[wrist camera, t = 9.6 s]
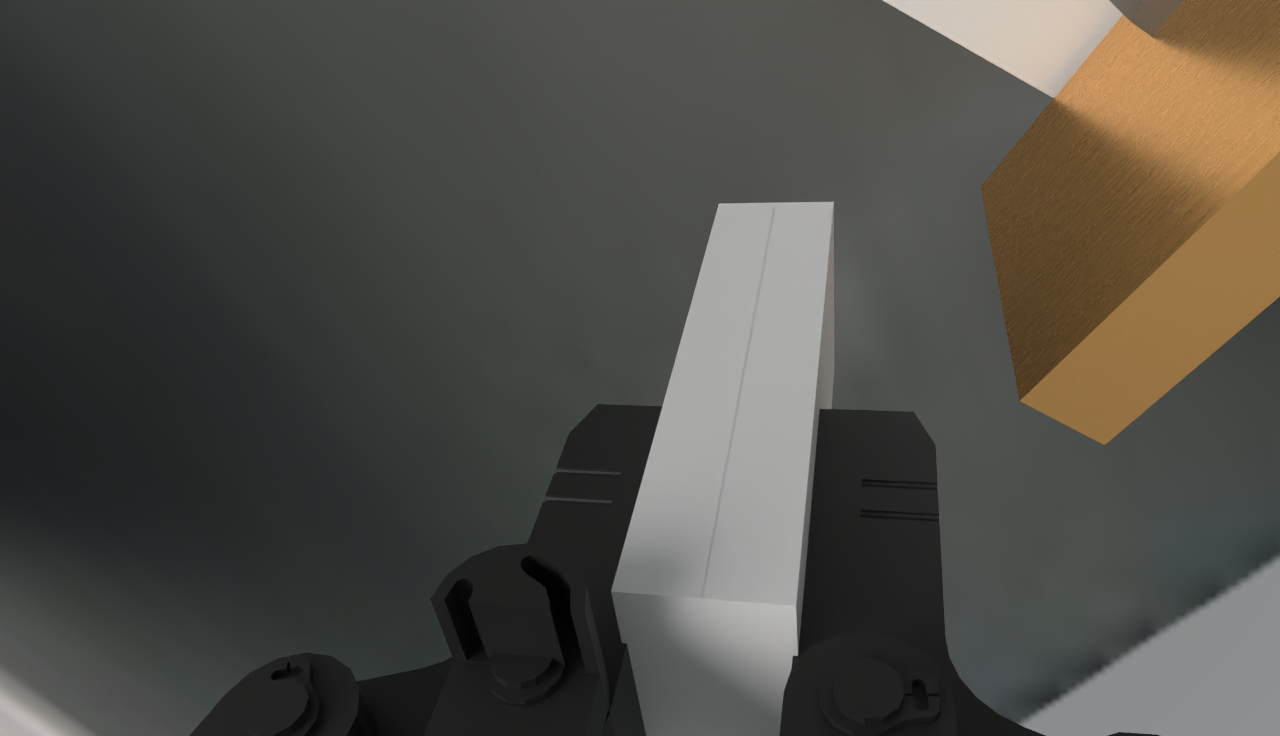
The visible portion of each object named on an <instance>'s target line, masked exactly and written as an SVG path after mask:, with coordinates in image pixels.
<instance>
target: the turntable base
mask: <svg viewBox="0 0 1280 736" xmlns="http://www.w3.org/2000/svg"><path fill="white" fill-rule="evenodd" d="M883 1H885V2H886V3H888V4H890V5H892V6H893V7H895V8H897V9H899V10H900V11H902V12H904V13H906V14H907V15H909V16H911V17H913V18H914V19H916V20H918V21H920V22H921V23H923V24H925V25H927V26H928V27H930V28H932V29H934V30H935V31H937V32H939V33H941V34H942V35H944V36H946V37H948V38H949V39H951V40H953V41H955V42H956V43H958V44H960V45H962V46H963V47H965V48H967V49H969V50H970V51H972V52H974V53H976V54H977V55H979V56H981V57H983V58H984V59H986V60H988V61H990V62H991V63H993V64H995V65H997V66H998V67H1000V68H1002V69H1004V70H1005V71H1007V72H1009V73H1011V74H1012V75H1014V76H1016V77H1018V78H1019V79H1021V80H1023V81H1025V82H1026V83H1028V84H1030V85H1032V86H1033V87H1035V88H1037V89H1039V90H1040V91H1042V92H1044V93H1046V94H1047V95H1049V96H1051V97H1053V98H1055V96H1056V95H1057V94H1058V93H1059V92H1060V90H1061V89H1062V88H1063V87H1064V86H1065V84H1066V83H1067V82H1068V81H1069V79H1070V78H1071V77H1072V76H1073V75H1074V73H1075V72H1076V71H1077V70H1078V69H1079V67H1080V66H1081V65H1082V64H1083V63H1084V61H1085V60H1086V59H1087V58H1088V56H1089V55H1090V54H1091V53H1092V52H1093V50H1094V49H1095V48H1096V47H1097V46H1098V44H1099V43H1100V42H1101V41H1102V40H1103V38H1104V37H1105V36H1106V35H1107V34H1108V32H1109V31H1110V30H1111V29H1112V27H1113V26H1114V25H1115V24H1116V23H1117V21H1118V20H1119V19H1120V18H1121V17H1122V15H1123V14H1122V13H1121V12H1120V11H1119V10H1118V9H1117V8H1116V7H1115V6H1114V5H1113V4H1112V3H1111V2H1110V1H1109V0H883Z"/></svg>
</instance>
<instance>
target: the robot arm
mask: <svg viewBox="0 0 1280 736" xmlns="http://www.w3.org/2000/svg"><path fill="white" fill-rule="evenodd" d="M833 381H834V202H792V203H724V204H719V205H718V209H717V212H716V216H715V219H714V223H713V227H712V230H711V234H710V237H709V241H708V245H707V248H706V252H705V255H704V259H703V263H702V266H701V270H700V273H699V277H698V281H697V284H696V288H695V291H694V295H693V299H692V302H691V306H690V309H689V313H688V317H687V320H686V324H685V327H684V331H683V335H682V338H681V342H680V345H679V349H678V352H677V356H676V360H675V363H674V367H673V370H672V374H671V378H670V381H669V385H668V388H667V392H666V396H665V399H664V403H663V406H632V405H603V404H598V405H597V406H596V407H595V408H594V409H593V410H592V411H591V412H590V413H589V414H588V415H587V416H586V417H585V418H584V419H583V420H582V421H581V422H580V423H579V424H578V425H577V426H576V427H575V428H574V429H573V430H572V431H571V432H570V433H569V435H568V438H567V441H566V443H565V446H564V449H563V451H562V454H561V457H560V459H559V462H558V465H557V472H556V474H554V475H553V478H552V480H551V483H550V486H549V488H548V491H547V494H546V502H543V504H542V507H541V509H540V512H539V515H538V517H537V520H536V523H535V525H534V528H533V530H532V533H531V536H530V538H529V541H528V544H517V545H506V546H498V547H496V548H493V549H491V550H488V551H485V552H483V553H480V554H477V555H475V556H472V557H470V558H469V559H468V560H466V561H465V562H464V563H462V564H461V565H460V566H458V567H457V568H456V569H454V570H453V571H452V572H450V573H449V574H448V575H447V576H446V577H445V578H444V580H443V581H442V583H441V584H440V586H439V587H438V588H437V590H436V591H435V593H434V594H433V596H432V597H431V601H432V604H433V606H434V609H435V612H436V614H437V617H438V619H439V622H440V625H441V627H442V630H443V632H444V635H445V638H446V640H447V643H448V646H449V648H450V651H451V653H452V656H453V657H451V658H449V659H448V660H446V661H444V662H441V663H438V664H435V665H431V666H428V667H425V668H421V669H417V670H412V671H407V672H402V673H397V674H392V675H387V676H382V677H378V678H373V679H368V680H363V681H358V682H356V680H355V678H354V675H353V673H352V671H351V669H350V668H348V667H347V666H345V665H344V664H342V663H341V662H339V661H338V660H336V659H335V658H334V657H332V656H326V655H319V654H312V653H303V654H298V655H293V656H288V657H283V658H278V659H276V660H274V661H272V662H270V663H268V664H266V665H264V666H262V667H260V668H258V669H256V670H255V671H253V672H251V673H249V674H248V675H247V676H246V677H245V678H243V679H242V680H241V681H240V682H239V683H238V684H237V685H236V686H234V687H233V688H232V689H231V690H230V691H229V692H228V693H227V694H225V696H224V697H223V698H222V699H221V700H220V701H219V702H218V704H217V705H216V706H215V707H214V708H213V709H212V711H211V712H210V713H209V714H208V715H207V716H206V717H205V719H204V720H203V721H202V722H201V723H200V724H199V725H198V727H197V728H196V729H195V730H194V731H193V732H192V734H191V735H190V736H1045V735H1042V734H1040V733H1037V732H1035V731H1032V730H1030V729H1027V728H1025V727H1023V726H1021V725H1019V724H1017V723H1015V722H1013V721H1011V720H1009V719H1007V718H1005V717H1003V716H1001V715H999V714H997V713H996V712H995V711H993V710H992V709H991V708H989V707H988V706H987V705H985V704H984V703H983V702H982V701H980V700H979V699H978V698H976V697H975V695H974V694H973V693H972V692H971V691H970V690H969V688H968V687H967V686H966V685H965V684H964V682H963V681H962V680H961V679H960V678H959V676H958V674H957V672H956V670H955V668H954V666H953V664H952V662H951V660H950V658H949V654H948V649H947V644H946V639H945V624H944V605H943V585H942V566H941V546H940V527H939V507H938V490H937V468H936V449H935V444H934V442H933V441H932V439H931V438H930V436H929V435H928V433H927V432H926V430H925V429H924V427H923V426H922V424H921V423H920V421H919V420H918V418H917V417H916V415H915V413H914V412H900V411H870V410H839V409H832V395H833ZM1109 736H1159V735H1151V734H1137V733H1122V732H1119V733H1115V734H1112V735H1109Z"/></svg>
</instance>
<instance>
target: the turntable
mask: <svg viewBox="0 0 1280 736" xmlns="http://www.w3.org/2000/svg"><path fill="white" fill-rule="evenodd" d="M1109 1H1110V2H1111V3H1112V4H1113V5H1114V6H1115V7H1116V8H1117V9H1118V10H1119V11H1120V12H1121V13H1122V14H1123V15H1122V17H1121V18H1120V19H1119V20H1118V21H1117V23H1116V24H1115V25H1114V26H1113V27H1112V29H1111V30H1110V31H1109V32H1108V34H1107V35H1106V36H1105V37H1104V38H1103V40H1102V41H1101V42H1100V43H1099V44H1098V46H1097V47H1096V48H1095V49H1094V50H1093V52H1092V53H1091V54H1090V55H1089V56H1088V58H1087V59H1086V60H1085V61H1084V63H1083V64H1082V65H1081V66H1080V67H1079V69H1078V70H1077V71H1076V72H1075V73H1074V75H1073V76H1072V77H1071V78H1070V79H1069V81H1068V82H1067V83H1066V84H1065V86H1064V87H1063V88H1062V89H1061V90H1060V92H1059V93H1058V94H1057V95H1056V96H1055V98H1054V99H1053V100H1052V101H1051V102H1050V104H1049V105H1048V106H1047V107H1046V108H1045V110H1044V111H1043V112H1042V113H1041V115H1040V116H1039V117H1038V118H1037V119H1036V121H1035V122H1034V123H1033V124H1032V125H1031V127H1030V128H1029V129H1028V130H1027V131H1026V133H1025V134H1024V135H1023V136H1022V138H1021V139H1020V140H1019V141H1018V142H1017V144H1016V145H1015V146H1014V147H1013V148H1012V150H1011V151H1010V152H1009V153H1008V154H1007V156H1006V157H1005V158H1004V159H1003V160H1002V162H1001V163H1000V164H999V165H998V167H997V168H996V169H995V170H994V171H993V173H992V174H991V175H990V176H989V177H988V179H987V180H986V181H985V182H984V183H983V185H982V186H981V191H982V197H983V202H984V208H985V213H986V219H987V224H988V230H989V235H990V241H991V246H992V252H993V257H994V263H995V268H996V274H997V279H998V285H999V290H1000V296H1001V301H1002V306H1003V312H1004V317H1005V323H1006V328H1007V334H1008V339H1009V345H1010V350H1011V356H1012V361H1013V367H1014V372H1015V378H1016V383H1017V389H1018V394H1019V400H1020V401H1021V402H1022V403H1024V404H1026V405H1028V406H1030V407H1032V408H1034V409H1036V410H1038V411H1040V412H1042V413H1044V414H1046V415H1047V416H1049V417H1051V418H1053V419H1055V420H1057V421H1059V422H1061V423H1063V424H1065V425H1067V426H1069V427H1071V428H1072V429H1074V430H1076V431H1078V432H1080V433H1082V434H1084V435H1086V436H1088V437H1090V438H1092V439H1094V440H1096V441H1098V442H1099V443H1101V444H1103V445H1105V444H1107V443H1108V442H1109V441H1110V440H1111V439H1112V438H1114V437H1115V436H1116V435H1117V434H1118V433H1120V432H1121V431H1122V430H1123V429H1124V428H1125V427H1127V426H1128V425H1129V424H1130V423H1131V422H1132V421H1134V420H1135V419H1136V418H1137V417H1138V416H1140V415H1141V414H1142V413H1143V412H1144V411H1145V410H1147V409H1148V408H1149V407H1150V406H1151V405H1153V404H1154V403H1155V402H1156V401H1157V400H1158V399H1160V398H1161V397H1162V396H1163V395H1164V394H1165V393H1167V392H1168V391H1169V390H1170V389H1171V388H1173V387H1174V386H1175V385H1176V384H1177V383H1178V382H1180V381H1181V380H1182V379H1183V378H1184V377H1186V376H1187V375H1188V374H1189V373H1190V372H1191V371H1193V370H1194V369H1195V368H1196V367H1197V366H1198V365H1200V364H1201V363H1202V362H1203V361H1204V360H1206V359H1207V358H1208V357H1209V356H1210V355H1211V354H1213V353H1214V352H1215V351H1216V350H1217V349H1218V348H1220V347H1221V346H1222V345H1223V344H1224V343H1226V342H1227V341H1228V340H1229V339H1230V338H1231V337H1233V336H1234V335H1235V334H1236V333H1237V332H1239V331H1240V330H1241V329H1242V328H1243V327H1244V326H1246V325H1247V324H1248V323H1249V322H1250V321H1251V320H1253V319H1254V318H1255V317H1256V316H1257V315H1259V314H1260V313H1261V312H1262V311H1263V310H1264V309H1266V308H1267V307H1268V306H1269V305H1270V304H1272V303H1273V302H1274V301H1275V300H1276V299H1277V298H1279V297H1280V0H1109Z"/></svg>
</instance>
